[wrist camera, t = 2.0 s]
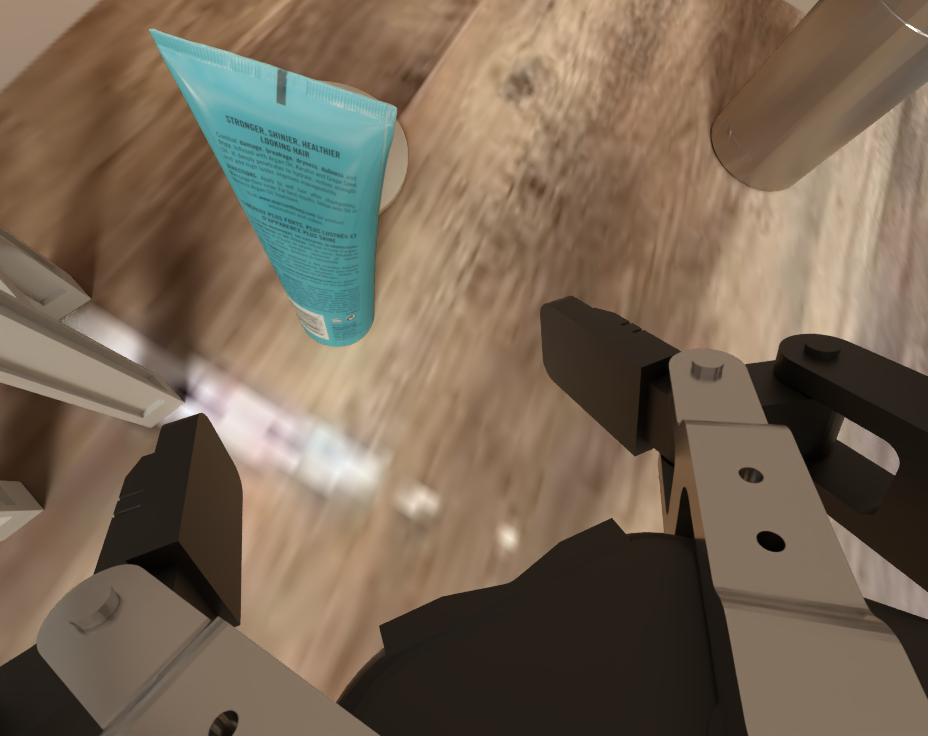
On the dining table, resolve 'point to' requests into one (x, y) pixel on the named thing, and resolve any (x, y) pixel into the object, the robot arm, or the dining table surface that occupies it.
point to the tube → (296, 175)
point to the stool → (62, 359)
